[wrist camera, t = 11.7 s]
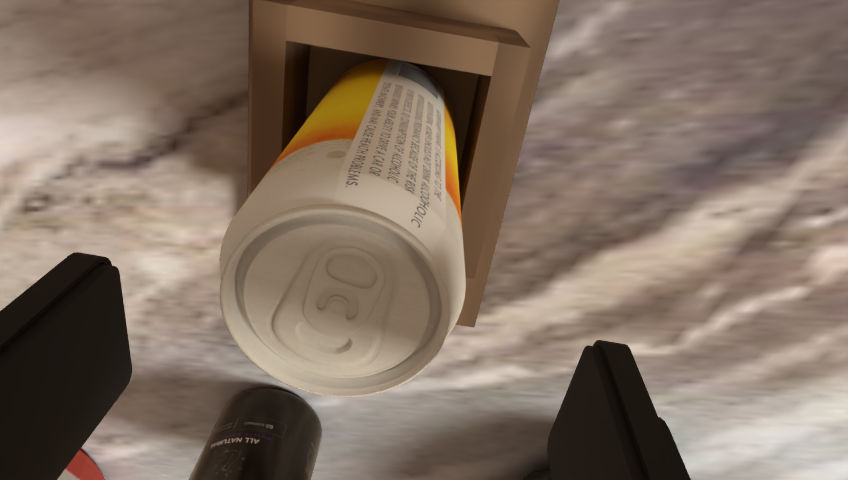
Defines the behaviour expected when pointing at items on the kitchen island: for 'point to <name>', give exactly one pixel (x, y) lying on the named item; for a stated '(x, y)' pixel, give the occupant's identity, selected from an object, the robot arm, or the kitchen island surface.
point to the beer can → (352, 240)
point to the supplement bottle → (261, 439)
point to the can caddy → (432, 52)
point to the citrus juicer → (81, 469)
